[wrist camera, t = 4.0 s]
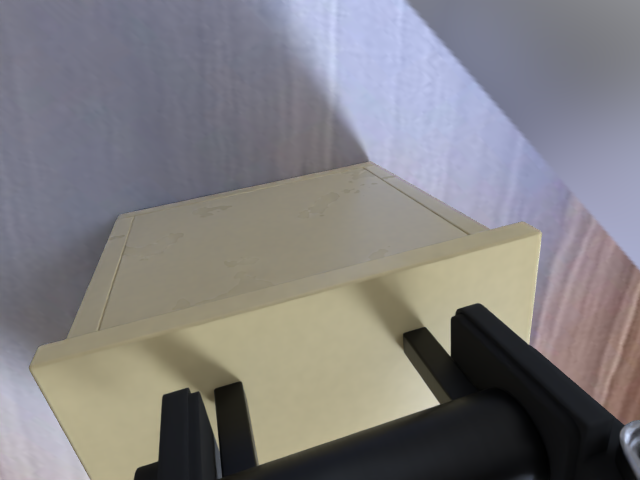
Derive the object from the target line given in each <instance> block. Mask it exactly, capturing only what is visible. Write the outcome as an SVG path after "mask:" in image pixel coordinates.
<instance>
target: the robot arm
mask: <svg viewBox="0 0 640 480" xmlns="http://www.w3.org/2000/svg"><path fill="white" fill-rule="evenodd" d="M451 358H452V359H453V360H454V361H455V362H456V364H457V365H458V366H459V367H460V368H461V370H462V371H463V372H464V373H465V374H466V376H467V377H468V378H469V379H470V380H471V382H472V383H473V384H474V385H475V386H476V388H477V389H478V390H479V391H482V390H485V389H488V388H491V387H496V388H501V389H503V390H505V391H507V392H508V393H510V394H511V395H512V396H513V397H514V398H515V399H516V400H517V401H518V402H519V403H520V404H521V405H522V407H523V408H524V409H525V411H526V412H527V413H528V415H529V416H530V418H531V419H532V421H533V423H534V425H535V426H536V428H537V430H538V432H539V435H540V437H541V439H542V441H543V444H544V447H545V450H546V453H547V457H548V462H549V472H550V473H549V480H640V420H636V421H632V422H630V423H628V424H626V425H623V424H622V423H621V422H620V421H619V420H618V419H616V418H615V417H614V416H613V415H612V414H611V413H609V412H608V411H607V410H606V409H605V408H604V407H602V406H601V405H600V404H599V403H598V402H597V401H595V400H594V399H593V398H592V397H591V396H590V395H588V394H587V393H586V392H585V391H584V390H583V389H581V388H580V387H579V386H578V385H577V384H576V383H574V382H573V381H572V380H571V379H570V378H569V377H567V376H566V375H565V374H564V373H563V372H562V371H560V370H559V369H558V368H557V367H556V366H555V365H553V364H552V363H551V362H550V361H549V360H548V359H547V358H545V357H544V356H543V355H542V354H541V353H540V352H538V351H537V350H536V349H535V348H533V347H532V346H530V345H529V344H527V343H526V342H525V341H524V340H523V339H522V338H521V337H519V336H518V335H517V334H516V333H515V332H514V331H512V330H511V329H510V328H509V327H508V326H507V325H505V324H504V323H503V322H502V321H501V320H500V319H498V318H497V317H496V316H495V315H494V314H493V313H492V312H490V311H489V310H488V309H487V308H486V307H485V306H483V305H482V304H480V303H476V304H472V305H469V306H465V307H462V308H459V309H457V310H456V313H455V316H453V317H451ZM219 478H222V472H221V461H220V451H219V448H218V445H217V442H216V439H215V436H214V433H213V430H212V427H211V424H210V421H209V418H208V415H207V412H206V409H205V406H204V403H203V400H202V397H201V394H200V392H199V391H197V392H194V393H191V391H190V389H189V388H184V389H181V390H177V391H174V392H171V393H167V394H164V395H163V396H162V407H161V423H160V440H159V456H158V461H157V462H154V463H151V464H148V465H145V466H142V467H139V468H137V470H136V472H135V475H134V480H216V479H219Z"/></svg>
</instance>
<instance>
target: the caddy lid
mask: <svg viewBox="0 0 640 480" xmlns="http://www.w3.org/2000/svg"><path fill="white" fill-rule="evenodd" d="M541 236H542V233H541V231H540V230H538V229H536V228H534V227H533V226H531V225H529V224H527V223H525V222H518V223H514V224H510V225H506V226H502V227H498V228H494V229H491V230H487V231H483V232H479V233H475V234H471V235H467V236H463V237H460V238H456V239H452V240H448V241H444V242H440V243H436V244H432V245H429V246H425V247H421V248H417V249H413V250H409V251H405V252H401V253H397V254H394V255H390V256H386V257H382V258H378V259H374V260H370V261H366V262H363V263H359V264H355V265H351V266H347V267H343V268H339V269H335V270H332V271H328V272H324V273H320V274H316V275H312V276H308V277H304V278H301V279H297V280H293V281H289V282H285V283H281V284H277V285H273V286H270V287H266V288H262V289H258V290H254V291H250V292H246V293H242V294H238V295H235V296H231V297H227V298H223V299H219V300H215V301H211V302H207V303H204V304H200V305H196V306H192V307H188V308H184V309H180V310H176V311H173V312H169V313H165V314H161V315H157V316H153V317H149V318H145V319H142V320H138V321H134V322H130V323H126V324H122V325H118V326H114V327H110V328H107V329H103V330H99V331H95V332H91V333H87V334H83V335H79V336H76V337H72V338H68V339H64V340H60V341H56V342H52V343H48V344H45V345H41V346H39V347H38V348H37V350H36V352H35V354H34V357H33V359H32V361H31V363H30V366H29V370H30V372H31V374H32V376H33V377H34V379H35V381H36V383H37V385H38V386H39V388H40V390H41V392H42V394H43V395H44V397H45V399H46V401H47V403H48V404H49V406H50V408H51V410H52V411H53V413H54V415H55V417H56V419H57V420H58V422H59V424H60V426H61V428H62V429H63V431H64V433H65V435H66V437H67V438H68V440H69V442H70V444H71V446H72V447H73V449H74V451H75V453H76V455H77V456H78V458H79V460H80V462H81V463H82V465H83V467H84V469H85V471H86V472H87V474H88V476H89V478H90V480H134V475H135V472H136V470H137V468H139V467H142V466H145V465H148V464H151V463H154V462H157V461H158V456H159V440H160V423H161V407H162V396H163V395H164V394H167V393H171V392H174V391H177V390H181V389H184V388H189V389H190V391H191V393H194V392H197V391H199V392H200V394H201V397H202V400H203V403H204V406H205V409H206V412H207V415H208V418H209V421H210V424H211V427H212V430H213V433H214V436H215V439H216V442H217V445H218V448H219V451H220V461H221V472H222V478H219V479H216V480H549V473H550V472H549V462H548V457H547V453H546V450H545V447H544V444H543V441H542V439H541V437H540V435H539V432H538V430H537V428H536V426H535V425H534V423H533V421H532V419H531V418H530V416H529V415H528V413H527V412H526V411H525V409H524V408H523V407H522V405H521V404H520V403H519V402H518V401H517V400H516V399H515V398H514V397H513V396H512V395H511V394H510V393H508V392H507V391H505V390H503V389H501V388H496V387H491V388H488V389H485V390H482V391H479V390H478V389H477V388H476V386H475V385H474V384H473V383H472V382H471V380H470V379H469V378H468V377H467V376H466V374H465V373H464V372H463V371H462V370H461V368H460V367H459V366H458V365H457V364H456V362H455V361H454V360H453V359H452V358H451V317H453V316H455V313H456V310H457V309H459V308H462V307H465V306H469V305H472V304H476V303H480V304H482V305H483V306H485V307H486V308H487V309H488V310H489V311H490V312H492V313H493V314H494V315H495V316H496V317H497V318H498V319H500V320H501V321H502V322H503V323H504V324H505V325H507V326H508V327H509V328H510V329H511V330H512V331H514V332H515V333H516V334H517V335H518V336H519V337H521V338H522V339H523V340H524V341H525V342H526V343H527V344H529V340H530V331H531V323H532V314H533V306H534V297H535V288H536V280H537V271H538V262H539V254H540V245H541Z"/></svg>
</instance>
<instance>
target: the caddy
mask: <svg viewBox="0 0 640 480" xmlns="http://www.w3.org/2000/svg"><path fill="white" fill-rule="evenodd" d="M487 230H491V229H489V228H487V227H486V226H484V225H482V224H480V223H479V222H477V221H475V220H473V219H472V218H470V217H468V216H466V215H465V214H463V213H461V212H459V211H458V210H456V209H454V208H452V207H451V206H449V205H447V204H445V203H444V202H442V201H440V200H438V199H437V198H435V197H433V196H431V195H429V194H428V193H426V192H424V191H422V190H421V189H419V188H417V187H415V186H414V185H412V184H410V183H408V182H407V181H405V180H403V179H401V178H400V177H398V176H396V175H394V174H393V173H391V172H389V171H387V170H386V169H384V168H382V167H380V166H379V165H376V164H375V163H373V162H371V161H370V162H365V163H360V164H355V165H351V166H346V167H341V168H336V169H332V170H327V171H322V172H318V173H313V174H308V175H303V176H299V177H294V178H289V179H285V180H280V181H275V182H270V183H266V184H261V185H256V186H251V187H247V188H242V189H237V190H233V191H228V192H223V193H218V194H214V195H209V196H204V197H200V198H195V199H190V200H185V201H181V202H176V203H171V204H166V205H162V206H157V207H152V208H148V209H143V210H138V211H133V212H129V213H124V214H120V215H118V218H117V220H116V221H115V224H114V226H113V228H112V231H111V233H110V236H109V238H108V240H107V243H106V245H105V247H104V250H103V252H102V255H101V257H100V259H99V262H98V264H97V267H96V269H95V271H94V274H93V276H92V278H91V281H90V283H89V286H88V288H87V290H86V293H85V295H84V297H83V300H82V302H81V305H80V307H79V309H78V312H77V314H76V316H75V319H74V321H73V324H72V326H71V328H70V331H69V333H68V335H67V338H66V339H68V338H72V337H76V336H79V335H83V334H87V333H91V332H95V331H99V330H103V329H107V328H110V327H114V326H118V325H122V324H126V323H130V322H134V321H138V320H142V319H145V318H149V317H153V316H157V315H161V314H165V313H169V312H173V311H176V310H180V309H184V308H188V307H192V306H196V305H200V304H204V303H207V302H211V301H215V300H219V299H223V298H227V297H231V296H235V295H238V294H242V293H246V292H250V291H254V290H258V289H262V288H266V287H270V286H273V285H277V284H281V283H285V282H289V281H293V280H297V279H301V278H304V277H308V276H312V275H316V274H320V273H324V272H328V271H332V270H335V269H339V268H343V267H347V266H351V265H355V264H359V263H363V262H366V261H370V260H374V259H378V258H382V257H386V256H390V255H394V254H397V253H401V252H405V251H409V250H413V249H417V248H421V247H425V246H429V245H432V244H436V243H440V242H444V241H448V240H452V239H456V238H460V237H463V236H467V235H471V234H475V233H479V232H483V231H487Z"/></svg>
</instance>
